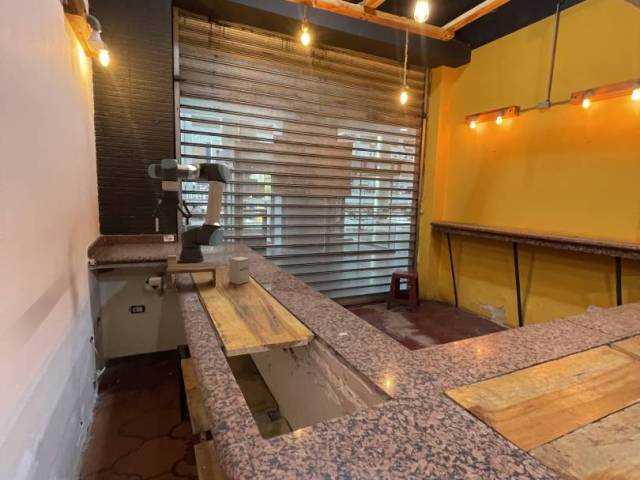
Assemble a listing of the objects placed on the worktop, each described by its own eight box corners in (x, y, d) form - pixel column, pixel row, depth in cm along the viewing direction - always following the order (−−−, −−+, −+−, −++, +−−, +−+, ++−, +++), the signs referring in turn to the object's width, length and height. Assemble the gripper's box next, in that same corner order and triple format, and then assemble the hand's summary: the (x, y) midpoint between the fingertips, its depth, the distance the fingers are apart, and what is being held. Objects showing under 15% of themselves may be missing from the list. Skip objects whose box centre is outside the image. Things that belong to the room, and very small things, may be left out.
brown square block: (150, 283, 165) (150, 277, 165) (161, 282, 167) (161, 277, 166) (148, 286, 160) (148, 280, 160) (160, 285, 162) (160, 279, 162)
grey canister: (238, 284, 168) (238, 260, 166) (229, 281, 172) (229, 258, 170) (249, 281, 174) (249, 258, 172) (240, 279, 178) (240, 256, 176)
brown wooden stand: (169, 281, 169) (169, 264, 168) (214, 279, 176) (214, 262, 175) (166, 289, 156) (166, 270, 155) (215, 286, 163) (215, 268, 162)
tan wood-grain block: (169, 277, 176) (168, 255, 174) (177, 276, 178) (176, 255, 176) (165, 286, 160) (164, 262, 158) (174, 286, 162) (173, 261, 160)
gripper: (141, 189, 162) (143, 232, 165) (196, 191, 170) (197, 231, 174) (144, 189, 169) (146, 230, 172) (196, 190, 177) (197, 230, 181)
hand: (171, 231), depth 173 cm, fingers open, 13 cm apart
